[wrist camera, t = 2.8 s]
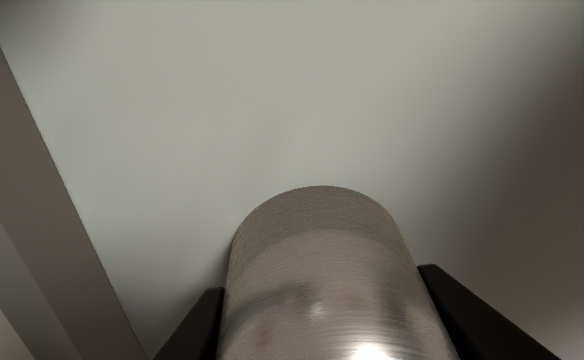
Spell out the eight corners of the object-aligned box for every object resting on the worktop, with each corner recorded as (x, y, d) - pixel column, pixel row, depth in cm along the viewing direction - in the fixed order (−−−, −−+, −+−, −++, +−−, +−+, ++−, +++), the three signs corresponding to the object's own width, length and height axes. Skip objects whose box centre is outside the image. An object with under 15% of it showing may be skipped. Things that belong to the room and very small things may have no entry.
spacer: (405, 175, 9) (532, 378, 5) (399, 309, 11) (480, 532, 7) (214, 197, 9) (158, 417, 5) (246, 326, 11) (228, 557, 7)
